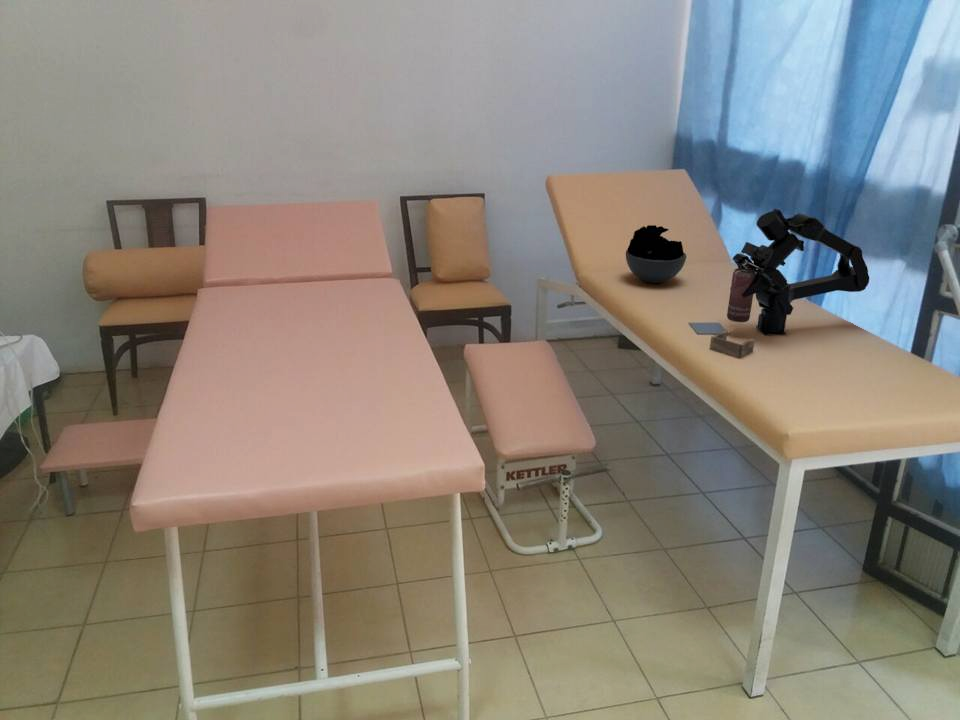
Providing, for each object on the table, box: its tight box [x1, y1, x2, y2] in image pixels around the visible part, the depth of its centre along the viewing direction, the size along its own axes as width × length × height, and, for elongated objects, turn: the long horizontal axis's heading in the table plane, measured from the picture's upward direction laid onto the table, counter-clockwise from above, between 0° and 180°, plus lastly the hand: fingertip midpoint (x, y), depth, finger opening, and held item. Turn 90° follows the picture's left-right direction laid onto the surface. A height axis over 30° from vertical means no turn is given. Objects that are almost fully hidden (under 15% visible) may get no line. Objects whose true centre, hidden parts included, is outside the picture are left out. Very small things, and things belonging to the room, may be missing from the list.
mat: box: [688, 322, 730, 335], centre depth 223 cm, size 9×9×1 cm
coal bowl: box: [625, 224, 687, 284], centre depth 262 cm, size 20×20×19 cm
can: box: [726, 267, 756, 323], centre depth 215 cm, size 6×6×14 cm
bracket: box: [709, 330, 756, 359], centre depth 208 cm, size 7×9×4 cm
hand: (736, 293), depth 214 cm, fingers closed on can, 5 cm apart
